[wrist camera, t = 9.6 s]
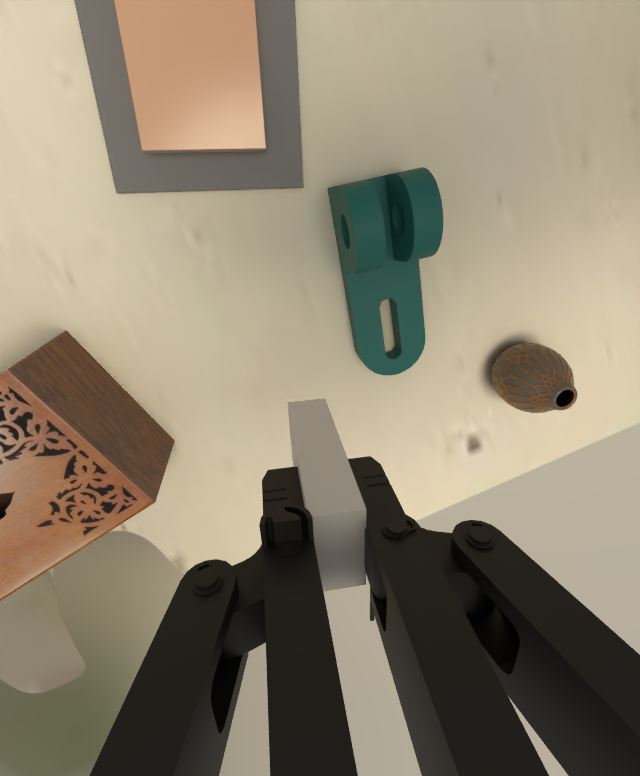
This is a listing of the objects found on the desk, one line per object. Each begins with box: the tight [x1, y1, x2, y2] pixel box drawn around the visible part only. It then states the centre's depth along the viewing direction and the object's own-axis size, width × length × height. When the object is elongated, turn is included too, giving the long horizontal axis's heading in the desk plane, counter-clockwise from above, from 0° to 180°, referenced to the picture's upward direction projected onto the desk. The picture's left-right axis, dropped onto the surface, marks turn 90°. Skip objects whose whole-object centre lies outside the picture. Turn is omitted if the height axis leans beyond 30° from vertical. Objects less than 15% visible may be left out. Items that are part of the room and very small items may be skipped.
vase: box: [491, 343, 577, 413], centre depth 41 cm, size 7×7×9 cm
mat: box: [74, 0, 303, 193], centre depth 30 cm, size 15×15×1 cm
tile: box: [114, 0, 266, 154], centre depth 29 cm, size 9×2×12 cm
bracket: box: [328, 168, 443, 375], centre depth 36 cm, size 18×7×8 cm, turn 11°
